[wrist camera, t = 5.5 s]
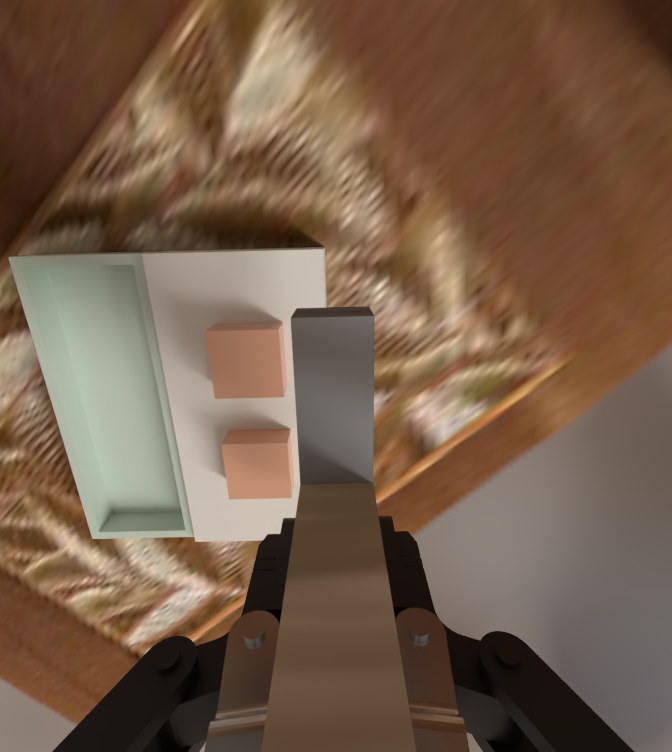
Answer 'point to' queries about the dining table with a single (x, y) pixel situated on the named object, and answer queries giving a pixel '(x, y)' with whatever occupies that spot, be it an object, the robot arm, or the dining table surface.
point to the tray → (107, 389)
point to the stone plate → (193, 374)
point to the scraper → (336, 559)
